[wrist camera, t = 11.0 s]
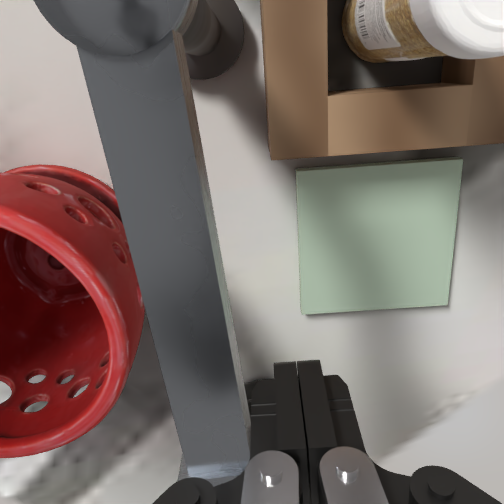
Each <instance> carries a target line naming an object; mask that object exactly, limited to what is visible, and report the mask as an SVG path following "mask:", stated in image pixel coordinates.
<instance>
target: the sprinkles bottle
mask: <svg viewBox="0 0 504 504" xmlns="http://www.w3.org/2000/svg"><path fill="white" fill-rule="evenodd" d="M342 28H343V34H344V38H345V40H346V42H347V44H348V45H349V47H350V49H351V50H352V51H353V52H354V53H355V54H356V55H357V56H358V57H359V58H361V59H363V60H365V61H369V62H372V63H384V62H391V61H406V60H417V59H422V58H426V57H435V56H445V55H449V56H452V57H455V58H460V59H484V58H492V57H499V56H504V0H346V4H345V7H344V9H343V16H342Z"/></svg>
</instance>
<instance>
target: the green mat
mask: <svg viewBox="0 0 504 504" xmlns="http://www.w3.org/2000/svg"><path fill="white" fill-rule="evenodd" d="M462 166H463V159H462V158H459V157H448V158H434V159H421V160H407V161H393V162H380V163H366V164H353V165H339V166H326V167H312V168H299V169H296V193H297V221H298V248H299V276H300V303H301V313H302V315H304V314H319V313H334V312H350V311H365V310H380V309H395V308H410V307H425V306H441V305H448V296H449V287H450V278H451V268H452V259H453V250H454V240H455V231H456V222H457V212H458V203H459V194H460V184H461V175H462Z"/></svg>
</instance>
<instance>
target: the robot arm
mask: <svg viewBox="0 0 504 504" xmlns="http://www.w3.org/2000/svg"><path fill="white" fill-rule="evenodd" d="M297 370H298V375H297ZM251 405H252V407H251V442H250V459H249V462H248V464H247V466H246V468H245V470H244V471H243V472H242V473H241V474H240V475H239V476H237V477H236V478H234V479H233V480H230V481H228V482H226V483H223V484H220V485H217V486H214V487H213V485H212V484H211V483H210V482H209V481H207V480H205V479H203V478H198V477H190V478H185V479H182V480H180V481H178V482H176V483H174V484H173V485H172V486H171V487H169V488H168V489H167V490H166V491H165V492H164V493H163V494H162V495H161V496H160V497H159V498H158V499H157V500H156V501H155V502H154V503H153V504H310V503H309V491H310V499H311V504H502V503H500V502H499V501H497V500H496V499H494V498H493V497H491V496H490V495H488V494H487V493H485V492H484V491H482V490H481V489H479V488H478V487H476V486H475V485H473V484H472V483H470V482H469V481H467V480H466V479H464V478H463V477H461V476H460V475H458V474H457V473H455V472H453V471H451V470H449V469H447V468H444V467H440V466H425V467H422V468H420V469H418V470H416V471H415V472H414V473H413V475H412V476H411V477H410V476H405V475H401V474H396V473H393V472H389V471H387V470H385V469H383V468H381V467H379V466H378V465H377V464H375V463H374V462H373V461H372V460H371V459H370V458H369V456H368V455H367V453H366V451H365V448H364V444H363V440H362V437H361V433H360V430H359V426H358V422H357V419H356V415H355V411H354V408H353V404H352V400H351V397H350V393H349V390H348V386H347V384H346V383H345V382H344V381H343V380H342V379H341V378H340V377H339V376H338V375H328V376H323V374H322V369H321V364H320V360H308V361H297V367H296V361H294V362H279V363H274V379H266V380H258V382H257V383H256V385H255V387H254V388H253V390H252V401H251ZM308 482H309V485H308Z"/></svg>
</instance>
